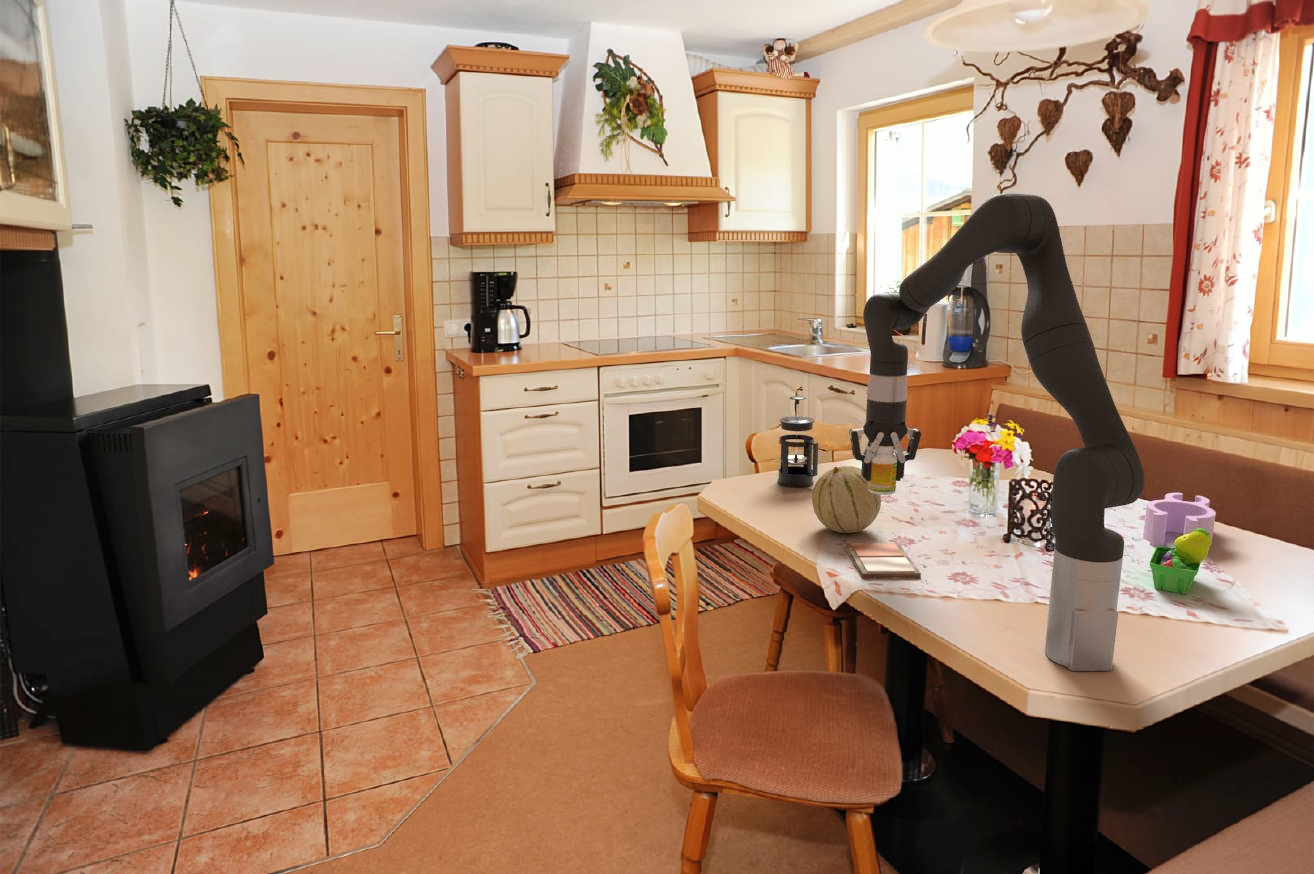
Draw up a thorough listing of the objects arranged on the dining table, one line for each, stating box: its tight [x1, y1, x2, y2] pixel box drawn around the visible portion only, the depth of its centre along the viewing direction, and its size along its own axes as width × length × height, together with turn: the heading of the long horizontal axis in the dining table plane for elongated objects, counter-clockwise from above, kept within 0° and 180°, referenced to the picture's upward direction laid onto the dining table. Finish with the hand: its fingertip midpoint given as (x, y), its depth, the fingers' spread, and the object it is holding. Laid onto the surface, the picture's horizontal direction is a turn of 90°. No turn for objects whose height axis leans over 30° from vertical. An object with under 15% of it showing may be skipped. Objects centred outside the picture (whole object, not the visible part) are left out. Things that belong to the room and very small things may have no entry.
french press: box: [777, 395, 819, 489], centre depth 227 cm, size 12×9×23 cm
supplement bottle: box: [868, 446, 897, 496], centre depth 174 cm, size 5×5×10 cm
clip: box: [1142, 492, 1217, 547], centre depth 186 cm, size 20×12×7 cm, turn 142°
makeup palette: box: [845, 542, 922, 579], centre depth 174 cm, size 16×11×1 cm
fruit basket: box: [1149, 528, 1213, 595], centre depth 160 cm, size 11×9×11 cm
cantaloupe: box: [811, 465, 882, 534], centre depth 191 cm, size 15×15×15 cm
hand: (882, 479), depth 174 cm, fingers closed on supplement bottle, 5 cm apart
